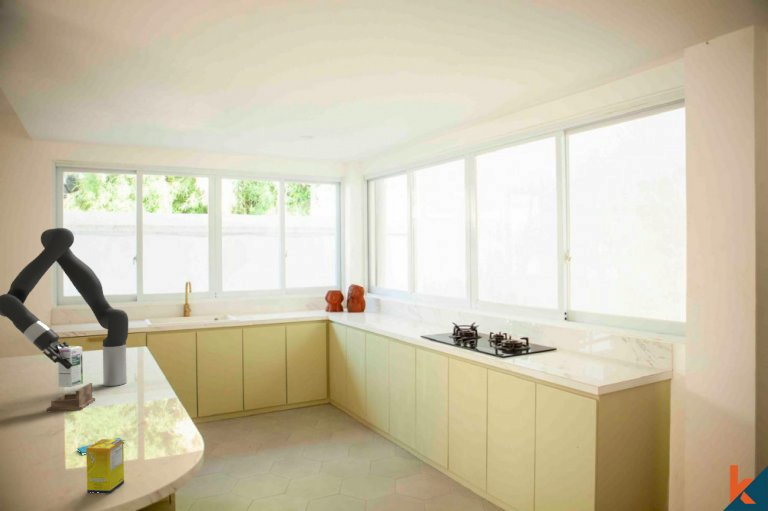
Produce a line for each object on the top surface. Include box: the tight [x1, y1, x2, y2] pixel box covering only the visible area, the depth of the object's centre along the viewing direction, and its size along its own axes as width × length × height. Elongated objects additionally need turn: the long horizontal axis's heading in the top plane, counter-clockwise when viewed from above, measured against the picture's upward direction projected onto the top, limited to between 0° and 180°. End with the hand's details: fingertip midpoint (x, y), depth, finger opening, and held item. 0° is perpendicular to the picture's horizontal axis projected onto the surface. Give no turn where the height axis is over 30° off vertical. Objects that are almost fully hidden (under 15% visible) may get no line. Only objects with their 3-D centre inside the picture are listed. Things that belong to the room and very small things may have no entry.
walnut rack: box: [46, 382, 96, 413], centre depth 194 cm, size 12×12×7 cm
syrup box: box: [57, 345, 84, 388], centre depth 194 cm, size 6×6×14 cm
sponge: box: [77, 437, 125, 453], centre depth 151 cm, size 2×12×6 cm
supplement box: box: [86, 438, 125, 494], centre depth 124 cm, size 6×6×11 cm
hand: (75, 365), depth 194 cm, fingers closed on syrup box, 7 cm apart
